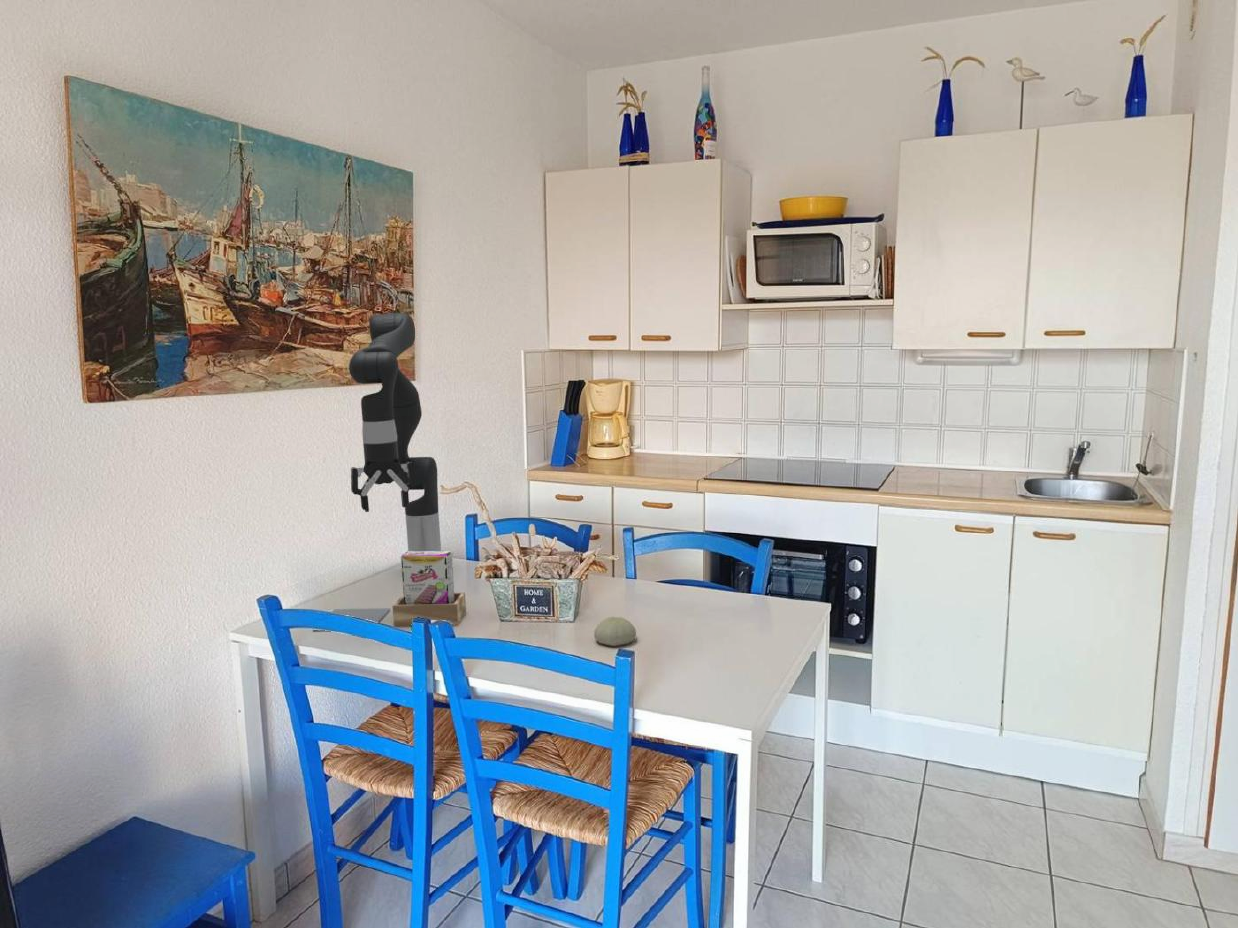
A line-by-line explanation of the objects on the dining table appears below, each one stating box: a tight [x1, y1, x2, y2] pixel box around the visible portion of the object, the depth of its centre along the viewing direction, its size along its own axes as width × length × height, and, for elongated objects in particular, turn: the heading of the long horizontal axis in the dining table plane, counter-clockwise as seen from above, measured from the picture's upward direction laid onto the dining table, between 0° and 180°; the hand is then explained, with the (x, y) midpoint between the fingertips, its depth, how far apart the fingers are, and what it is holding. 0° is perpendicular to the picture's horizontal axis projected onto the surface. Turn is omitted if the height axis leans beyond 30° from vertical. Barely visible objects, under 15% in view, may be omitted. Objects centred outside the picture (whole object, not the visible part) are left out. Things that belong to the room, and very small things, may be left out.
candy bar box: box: [400, 550, 455, 605], centre depth 204 cm, size 11×5×16 cm, turn 84°
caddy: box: [392, 592, 467, 627], centre depth 205 cm, size 9×15×5 cm, turn 88°
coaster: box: [312, 607, 391, 632], centre depth 206 cm, size 14×14×1 cm
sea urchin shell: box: [593, 616, 637, 647], centre depth 187 cm, size 9×8×8 cm
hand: (385, 509), depth 199 cm, fingers open, 8 cm apart
